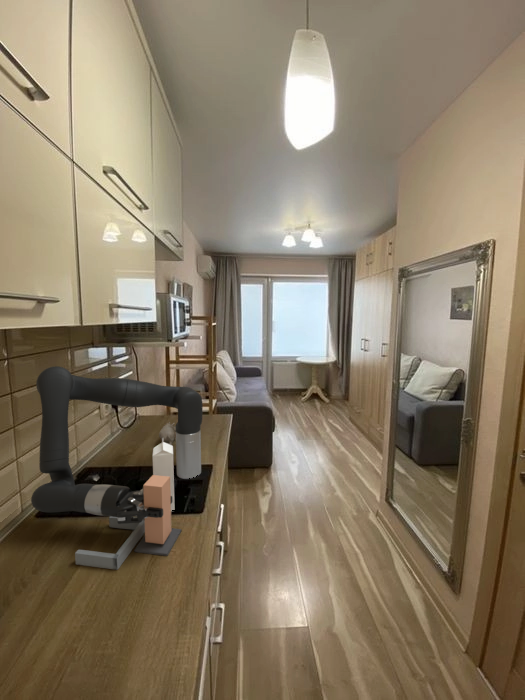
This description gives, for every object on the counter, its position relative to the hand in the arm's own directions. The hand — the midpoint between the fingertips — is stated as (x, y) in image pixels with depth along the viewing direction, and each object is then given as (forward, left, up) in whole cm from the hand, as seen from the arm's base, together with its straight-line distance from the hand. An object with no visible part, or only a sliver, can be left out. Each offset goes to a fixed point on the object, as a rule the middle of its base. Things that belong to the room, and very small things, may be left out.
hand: (167, 506), depth 81 cm
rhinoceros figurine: (-59, -26, -11) cm, 65 cm away
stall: (+3, -14, -10) cm, 17 cm away
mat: (0, -3, -10) cm, 11 cm away
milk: (-14, -8, -11) cm, 19 cm away
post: (0, -3, -9) cm, 9 cm away
